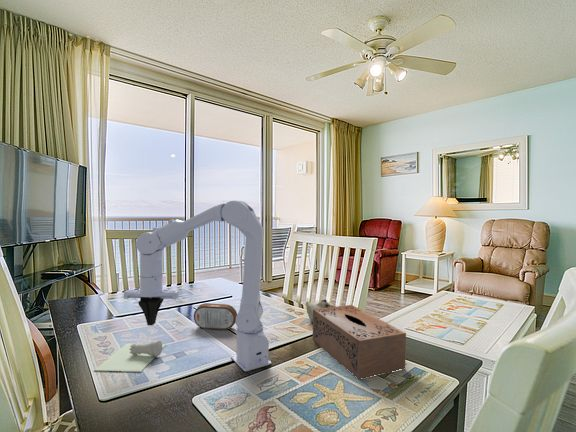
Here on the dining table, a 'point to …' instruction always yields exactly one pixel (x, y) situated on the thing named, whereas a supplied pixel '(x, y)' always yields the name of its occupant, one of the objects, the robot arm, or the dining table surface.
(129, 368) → the mat
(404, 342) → the tissue box cover
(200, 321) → the tin
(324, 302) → the ceramic sculpture
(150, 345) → the rook chess piece
